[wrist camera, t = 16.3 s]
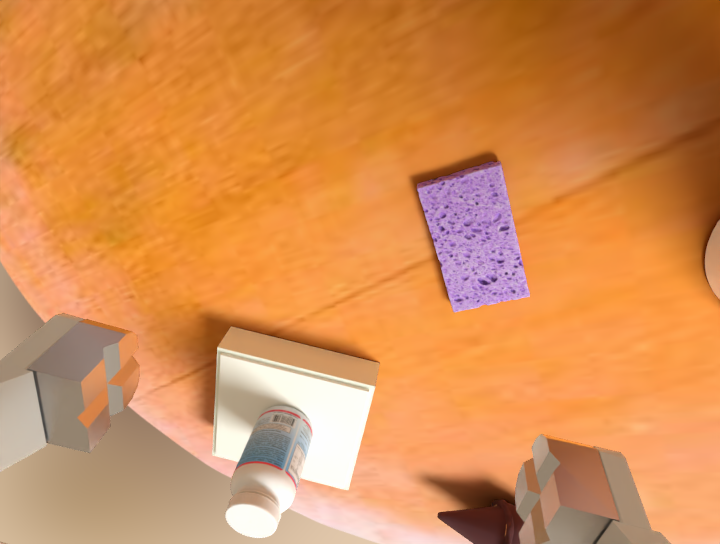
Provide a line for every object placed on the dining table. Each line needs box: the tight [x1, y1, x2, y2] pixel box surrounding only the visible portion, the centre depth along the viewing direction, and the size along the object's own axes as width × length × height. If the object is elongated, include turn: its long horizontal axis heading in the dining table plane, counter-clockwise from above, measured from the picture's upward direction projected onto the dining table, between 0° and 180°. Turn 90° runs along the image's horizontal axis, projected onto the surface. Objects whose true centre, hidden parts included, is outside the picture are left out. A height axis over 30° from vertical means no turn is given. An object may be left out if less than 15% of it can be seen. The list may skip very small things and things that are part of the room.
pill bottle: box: [225, 406, 313, 538], centre depth 49 cm, size 6×6×11 cm
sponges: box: [417, 161, 530, 312], centre depth 45 cm, size 7×13×2 cm, turn 19°
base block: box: [212, 326, 380, 490], centre depth 56 cm, size 16×16×4 cm
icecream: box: [438, 499, 525, 544], centre depth 58 cm, size 7×7×15 cm
